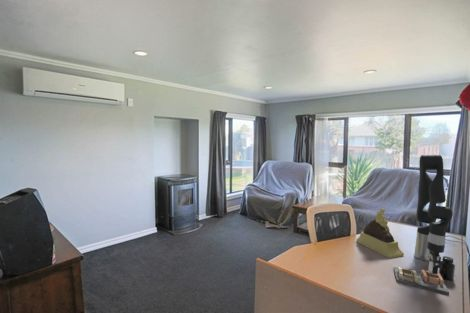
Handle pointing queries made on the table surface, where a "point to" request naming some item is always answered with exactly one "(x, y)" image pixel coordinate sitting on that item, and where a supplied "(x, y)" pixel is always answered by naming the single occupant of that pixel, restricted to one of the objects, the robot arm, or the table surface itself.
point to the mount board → (417, 280)
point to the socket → (432, 278)
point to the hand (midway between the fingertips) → (432, 270)
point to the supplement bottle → (447, 268)
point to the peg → (431, 270)
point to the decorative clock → (380, 237)
